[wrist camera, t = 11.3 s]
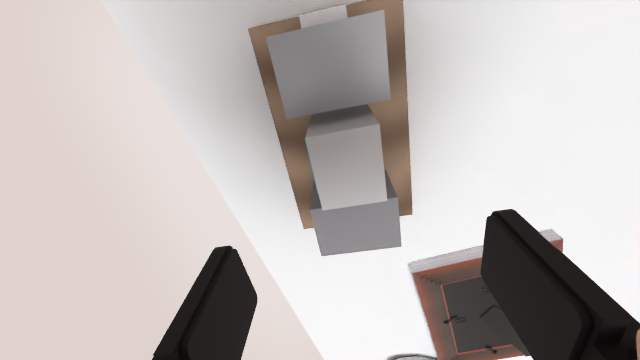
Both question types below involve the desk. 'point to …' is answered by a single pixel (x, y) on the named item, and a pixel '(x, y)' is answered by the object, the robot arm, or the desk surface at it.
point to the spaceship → (415, 358)
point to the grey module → (346, 157)
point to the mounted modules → (337, 93)
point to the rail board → (386, 112)
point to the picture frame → (466, 307)
